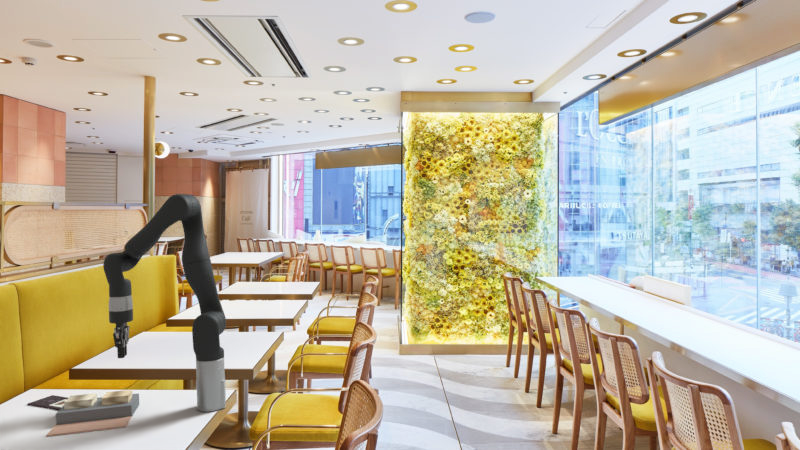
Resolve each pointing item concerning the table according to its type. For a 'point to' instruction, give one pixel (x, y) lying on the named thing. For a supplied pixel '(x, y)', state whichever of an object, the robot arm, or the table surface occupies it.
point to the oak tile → (117, 397)
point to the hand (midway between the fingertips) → (122, 356)
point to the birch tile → (80, 401)
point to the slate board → (98, 411)
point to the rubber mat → (89, 426)
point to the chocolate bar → (50, 402)
